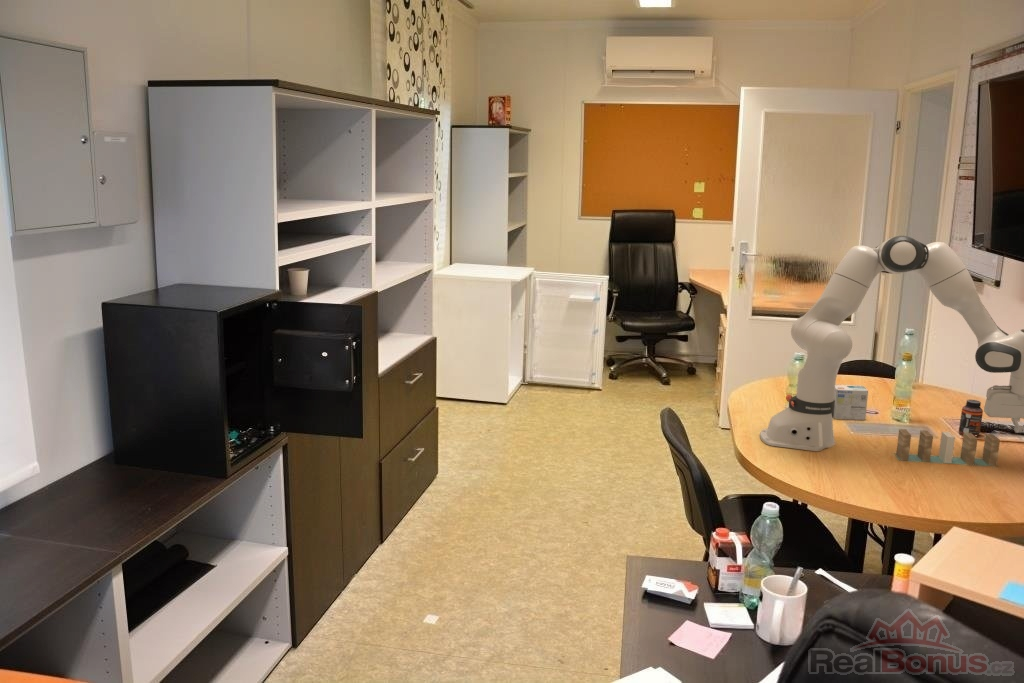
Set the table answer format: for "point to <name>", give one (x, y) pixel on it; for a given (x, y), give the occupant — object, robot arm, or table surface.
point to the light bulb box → (850, 402)
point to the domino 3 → (946, 447)
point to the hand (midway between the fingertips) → (1020, 432)
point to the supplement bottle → (971, 418)
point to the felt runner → (937, 460)
